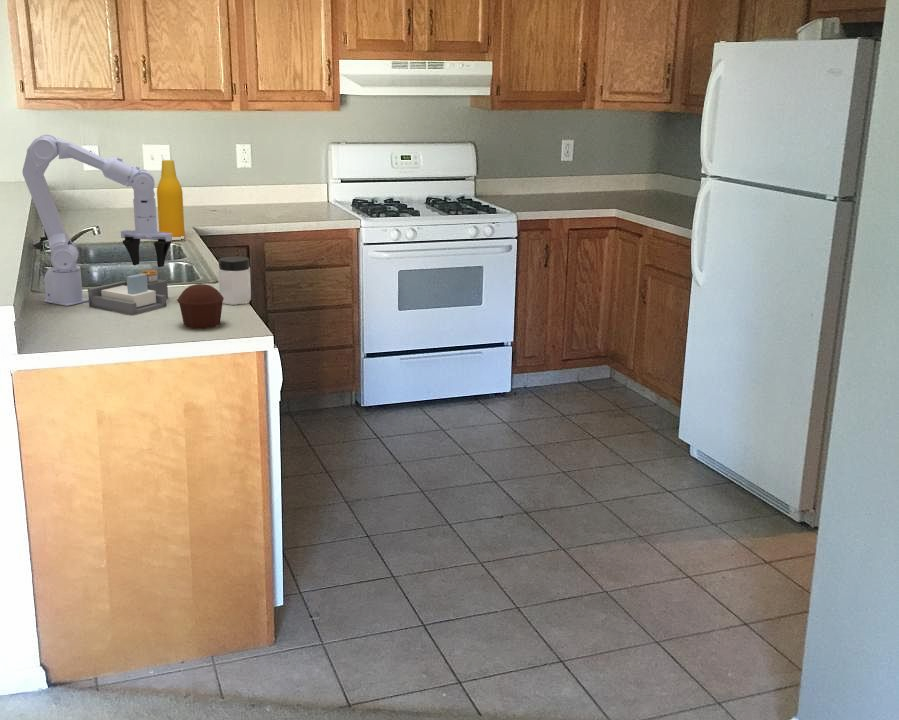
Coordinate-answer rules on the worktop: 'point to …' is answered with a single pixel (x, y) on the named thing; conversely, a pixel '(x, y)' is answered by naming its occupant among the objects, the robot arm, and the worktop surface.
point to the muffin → (201, 306)
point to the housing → (126, 306)
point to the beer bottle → (170, 201)
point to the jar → (234, 280)
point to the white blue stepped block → (132, 291)
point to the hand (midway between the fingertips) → (148, 265)
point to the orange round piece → (150, 275)
